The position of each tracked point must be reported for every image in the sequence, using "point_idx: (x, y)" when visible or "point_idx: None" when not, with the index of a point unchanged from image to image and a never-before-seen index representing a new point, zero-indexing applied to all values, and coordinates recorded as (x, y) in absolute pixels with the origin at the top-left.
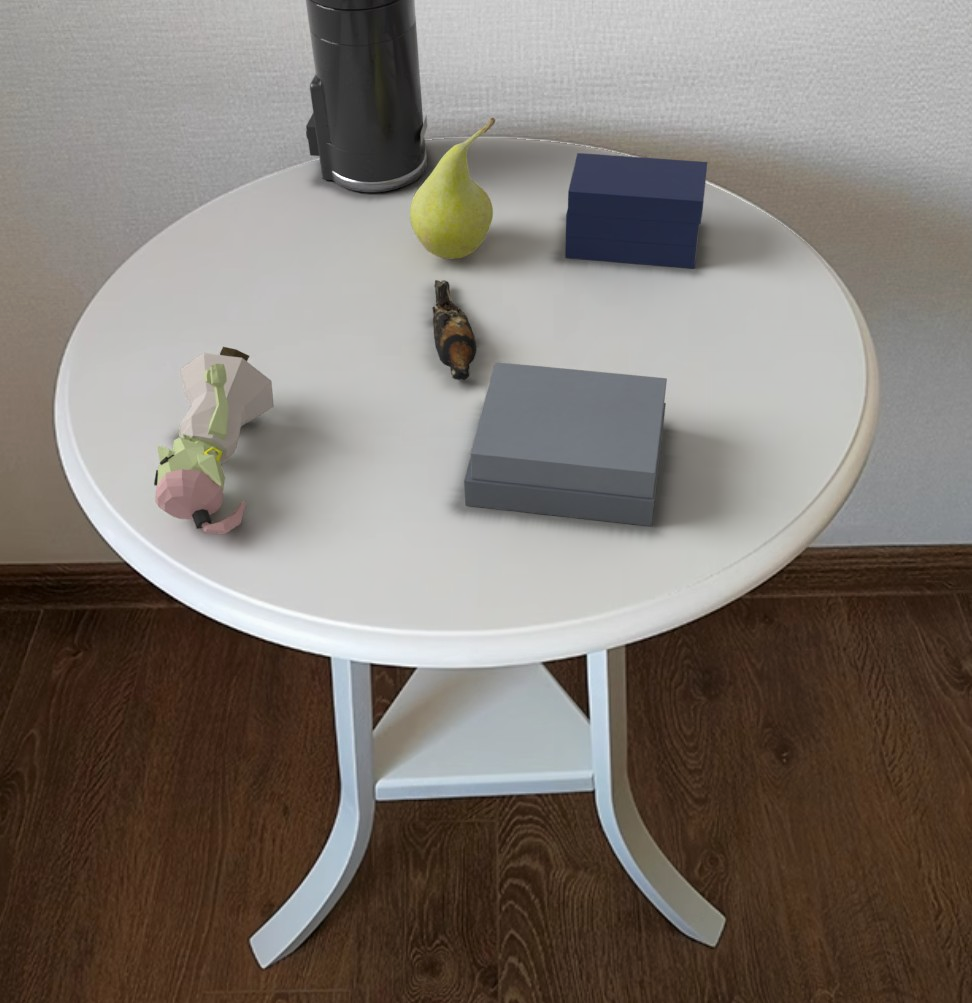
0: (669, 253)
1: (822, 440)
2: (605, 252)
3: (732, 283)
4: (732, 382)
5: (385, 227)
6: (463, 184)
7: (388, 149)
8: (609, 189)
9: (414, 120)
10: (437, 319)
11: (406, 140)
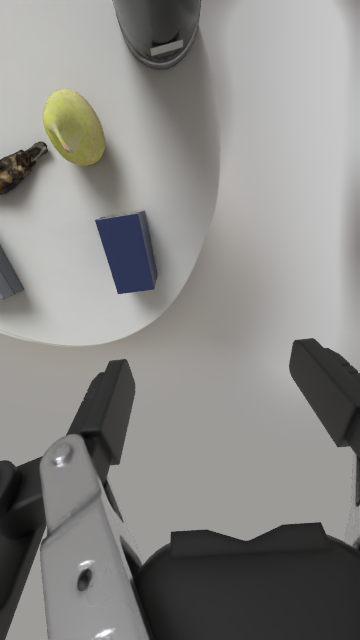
0: None
1: (52, 337)
2: None
3: (123, 296)
4: (63, 307)
5: (86, 65)
6: (57, 139)
7: (121, 19)
8: (107, 244)
9: (146, 33)
10: (1, 161)
11: (136, 36)
